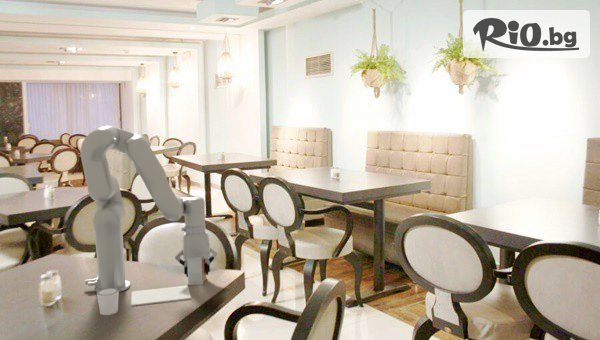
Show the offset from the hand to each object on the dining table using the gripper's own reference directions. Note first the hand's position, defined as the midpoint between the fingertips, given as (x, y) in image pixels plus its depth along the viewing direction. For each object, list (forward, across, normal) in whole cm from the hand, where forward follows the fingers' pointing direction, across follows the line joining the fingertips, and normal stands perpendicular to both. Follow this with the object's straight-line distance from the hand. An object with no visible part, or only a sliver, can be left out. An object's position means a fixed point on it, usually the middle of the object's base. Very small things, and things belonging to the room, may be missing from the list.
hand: (197, 274), depth 201 cm
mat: (+3, -14, -11) cm, 18 cm away
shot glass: (+3, -31, -20) cm, 37 cm away
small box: (+3, 0, 0) cm, 3 cm away
